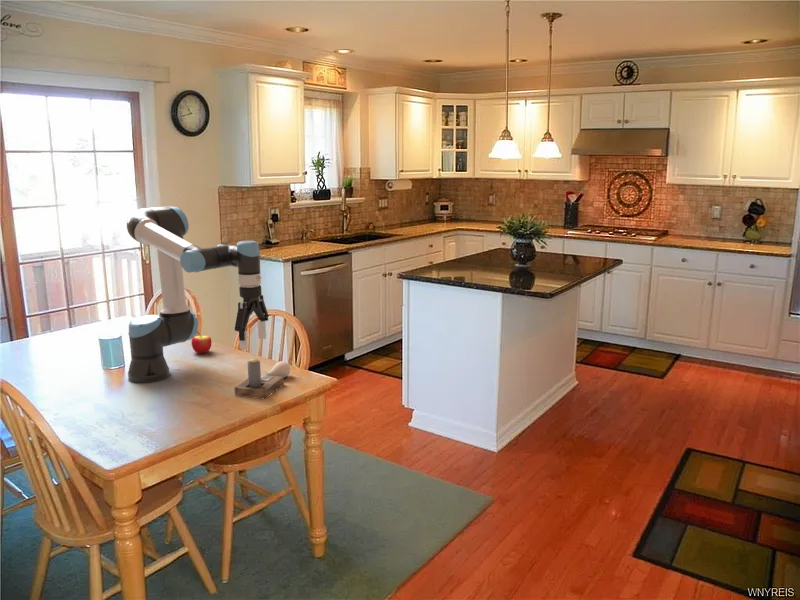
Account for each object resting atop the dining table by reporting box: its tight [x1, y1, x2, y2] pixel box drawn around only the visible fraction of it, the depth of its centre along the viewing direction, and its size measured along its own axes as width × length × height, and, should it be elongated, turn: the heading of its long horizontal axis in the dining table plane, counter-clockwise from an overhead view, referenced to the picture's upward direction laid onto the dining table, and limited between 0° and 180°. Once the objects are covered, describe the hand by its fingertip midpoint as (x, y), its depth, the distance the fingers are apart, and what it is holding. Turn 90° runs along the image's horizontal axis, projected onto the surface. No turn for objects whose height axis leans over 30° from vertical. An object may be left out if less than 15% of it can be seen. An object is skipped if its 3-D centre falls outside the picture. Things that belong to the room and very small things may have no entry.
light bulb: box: [264, 360, 291, 378], centre depth 248 cm, size 7×7×11 cm
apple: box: [191, 331, 213, 355], centre depth 277 cm, size 8×8×10 cm
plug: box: [247, 358, 262, 389], centre depth 231 cm, size 4×4×13 cm
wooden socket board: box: [234, 374, 285, 400], centre depth 236 cm, size 12×15×3 cm
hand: (253, 343), depth 228 cm, fingers open, 13 cm apart
